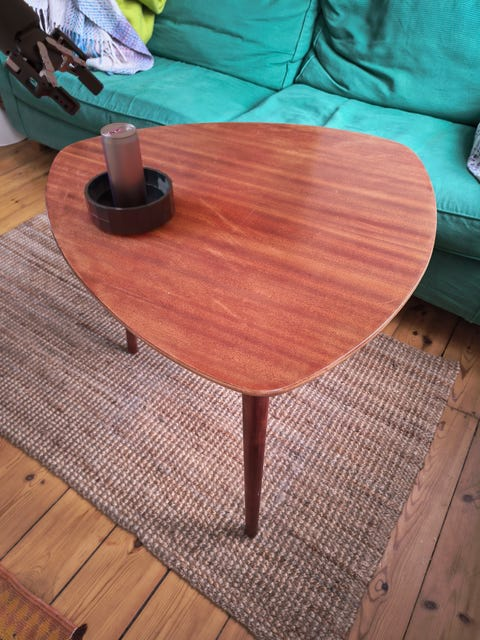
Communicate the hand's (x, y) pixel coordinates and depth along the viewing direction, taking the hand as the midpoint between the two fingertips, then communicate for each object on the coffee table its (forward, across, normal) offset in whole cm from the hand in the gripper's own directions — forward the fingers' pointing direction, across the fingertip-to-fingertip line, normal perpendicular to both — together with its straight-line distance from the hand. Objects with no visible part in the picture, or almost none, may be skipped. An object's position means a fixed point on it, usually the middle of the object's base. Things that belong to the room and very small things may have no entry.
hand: (89, 101), depth 72 cm
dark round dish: (+17, 0, +11) cm, 20 cm away
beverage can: (+16, 0, +11) cm, 20 cm away
